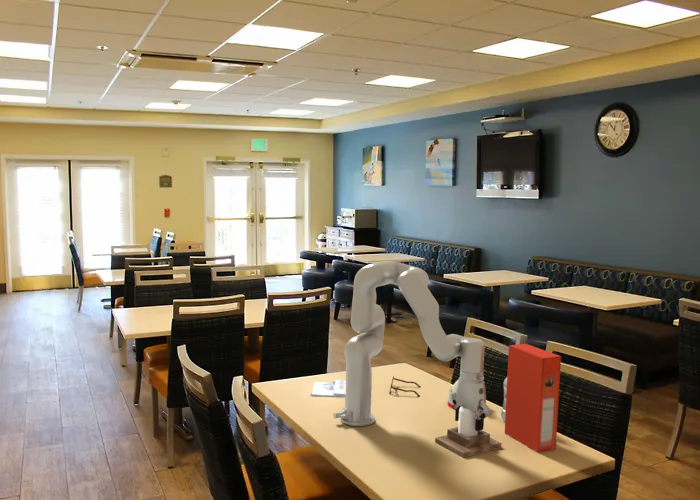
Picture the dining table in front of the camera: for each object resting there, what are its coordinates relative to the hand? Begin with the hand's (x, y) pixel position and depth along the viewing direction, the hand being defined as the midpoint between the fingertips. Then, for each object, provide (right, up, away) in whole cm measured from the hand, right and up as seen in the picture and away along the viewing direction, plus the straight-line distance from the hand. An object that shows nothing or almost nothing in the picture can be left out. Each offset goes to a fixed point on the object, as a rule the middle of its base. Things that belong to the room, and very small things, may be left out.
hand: (468, 425), depth 207 cm
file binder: (+22, -7, +5) cm, 24 cm away
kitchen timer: (+6, -4, +39) cm, 40 cm away
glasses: (-16, -2, +56) cm, 58 cm away
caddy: (0, -7, +1) cm, 7 cm away
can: (0, -5, +1) cm, 6 cm away
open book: (-46, -1, +54) cm, 71 cm away
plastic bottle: (+20, -6, +23) cm, 31 cm away
